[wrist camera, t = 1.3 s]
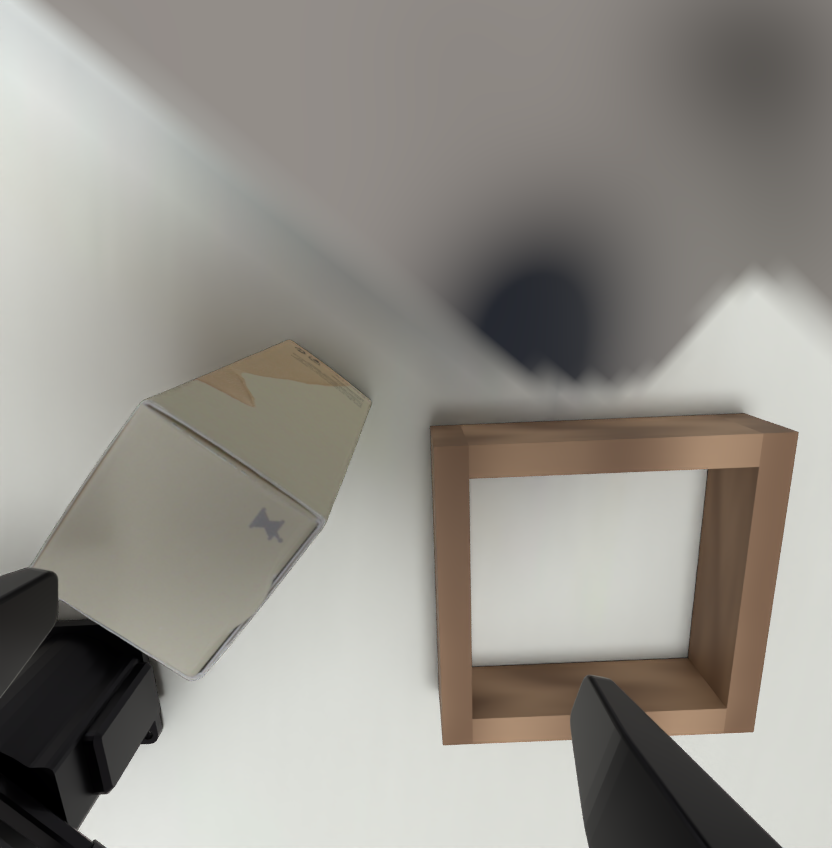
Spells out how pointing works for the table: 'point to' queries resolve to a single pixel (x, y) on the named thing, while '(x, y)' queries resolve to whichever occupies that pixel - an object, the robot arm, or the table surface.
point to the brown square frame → (715, 584)
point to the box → (207, 504)
